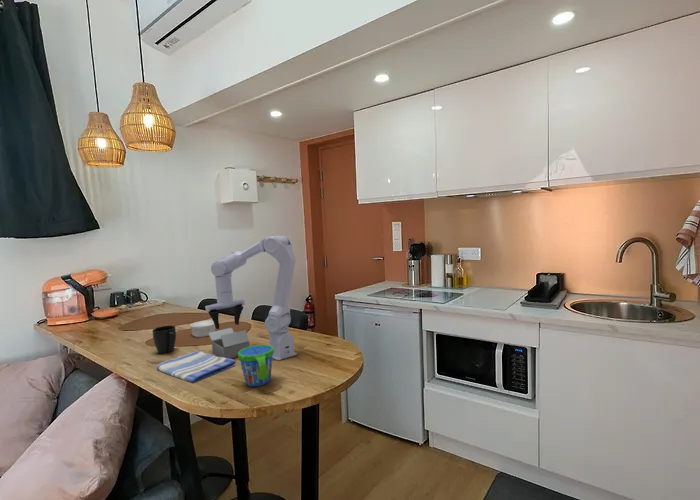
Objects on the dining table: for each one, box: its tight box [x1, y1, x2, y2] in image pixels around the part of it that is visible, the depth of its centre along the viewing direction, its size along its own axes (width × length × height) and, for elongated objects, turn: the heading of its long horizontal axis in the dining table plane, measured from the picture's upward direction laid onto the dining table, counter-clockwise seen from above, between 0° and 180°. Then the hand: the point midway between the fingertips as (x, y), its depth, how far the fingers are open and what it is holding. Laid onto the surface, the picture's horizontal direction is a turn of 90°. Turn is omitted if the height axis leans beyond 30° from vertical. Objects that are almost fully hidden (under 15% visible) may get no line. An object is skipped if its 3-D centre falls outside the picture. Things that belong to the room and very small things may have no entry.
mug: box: [152, 325, 177, 355], centre depth 146 cm, size 8×12×10 cm
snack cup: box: [237, 344, 274, 387], centre depth 112 cm, size 16×10×10 cm
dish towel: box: [156, 350, 236, 383], centre depth 128 cm, size 17×24×3 cm
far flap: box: [208, 327, 235, 342], centre depth 147 cm, size 4×9×1 cm
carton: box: [211, 339, 251, 359], centre depth 141 cm, size 12×10×4 cm
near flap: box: [221, 329, 250, 348], centre depth 137 cm, size 4×9×1 cm
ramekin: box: [189, 319, 216, 338], centre depth 170 cm, size 11×11×5 cm
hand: (227, 326), depth 142 cm, fingers open, 7 cm apart
